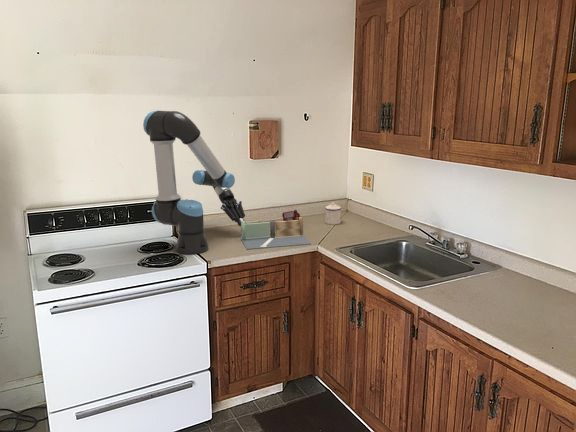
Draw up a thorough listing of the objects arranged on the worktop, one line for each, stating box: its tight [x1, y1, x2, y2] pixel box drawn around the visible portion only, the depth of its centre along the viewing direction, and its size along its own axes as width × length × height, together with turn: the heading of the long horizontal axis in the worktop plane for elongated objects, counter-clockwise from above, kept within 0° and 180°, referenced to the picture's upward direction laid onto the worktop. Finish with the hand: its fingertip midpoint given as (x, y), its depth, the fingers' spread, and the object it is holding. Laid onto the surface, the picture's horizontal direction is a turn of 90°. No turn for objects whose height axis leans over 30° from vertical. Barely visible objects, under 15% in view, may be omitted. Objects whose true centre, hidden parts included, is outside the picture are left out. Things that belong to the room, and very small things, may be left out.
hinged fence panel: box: [240, 220, 270, 239], centre depth 254 cm, size 14×2×9 cm, turn 104°
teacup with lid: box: [324, 202, 342, 226], centre depth 286 cm, size 12×9×12 cm
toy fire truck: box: [281, 209, 302, 221], centre depth 273 cm, size 7×12×10 cm, turn 127°
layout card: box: [239, 232, 312, 251], centre depth 254 cm, size 32×22×1 cm
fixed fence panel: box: [269, 216, 304, 238], centre depth 258 cm, size 17×2×10 cm, turn 104°
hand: (245, 230), depth 258 cm, fingers closed
